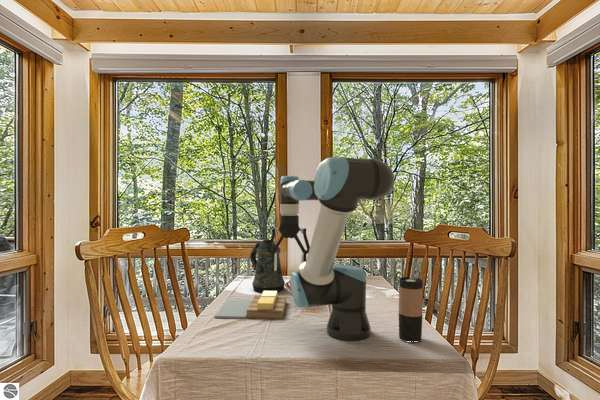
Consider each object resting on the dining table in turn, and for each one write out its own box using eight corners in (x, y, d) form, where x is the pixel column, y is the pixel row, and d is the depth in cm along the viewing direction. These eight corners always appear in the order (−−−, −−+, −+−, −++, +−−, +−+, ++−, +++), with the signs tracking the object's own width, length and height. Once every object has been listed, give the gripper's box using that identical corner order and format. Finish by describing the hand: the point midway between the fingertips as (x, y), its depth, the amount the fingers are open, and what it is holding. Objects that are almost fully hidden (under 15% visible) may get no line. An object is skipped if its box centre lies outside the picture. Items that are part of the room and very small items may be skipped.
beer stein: (281, 294, 183) (281, 242, 183) (242, 292, 186) (242, 241, 186) (287, 286, 199) (288, 239, 199) (251, 284, 202) (252, 238, 202)
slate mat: (245, 318, 145) (245, 316, 145) (214, 318, 146) (214, 316, 146) (254, 301, 169) (254, 299, 169) (228, 301, 170) (228, 299, 170)
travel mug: (406, 344, 121) (407, 282, 121) (394, 336, 128) (394, 277, 128) (427, 342, 123) (427, 281, 123) (413, 334, 131) (414, 276, 130)
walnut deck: (282, 318, 146) (282, 310, 146) (246, 317, 146) (246, 310, 146) (286, 302, 168) (286, 295, 168) (255, 302, 168) (255, 295, 168)
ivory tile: (275, 302, 158) (275, 296, 158) (261, 301, 158) (261, 295, 158) (277, 296, 167) (277, 290, 167) (263, 296, 167) (263, 290, 167)
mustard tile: (272, 309, 147) (272, 303, 147) (257, 309, 147) (257, 303, 147) (274, 303, 156) (274, 297, 156) (260, 303, 156) (260, 297, 156)
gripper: (317, 214, 155) (317, 268, 155) (262, 214, 155) (261, 268, 155) (317, 215, 147) (317, 272, 147) (260, 214, 148) (259, 271, 148)
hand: (288, 270), depth 151 cm, fingers open, 10 cm apart
